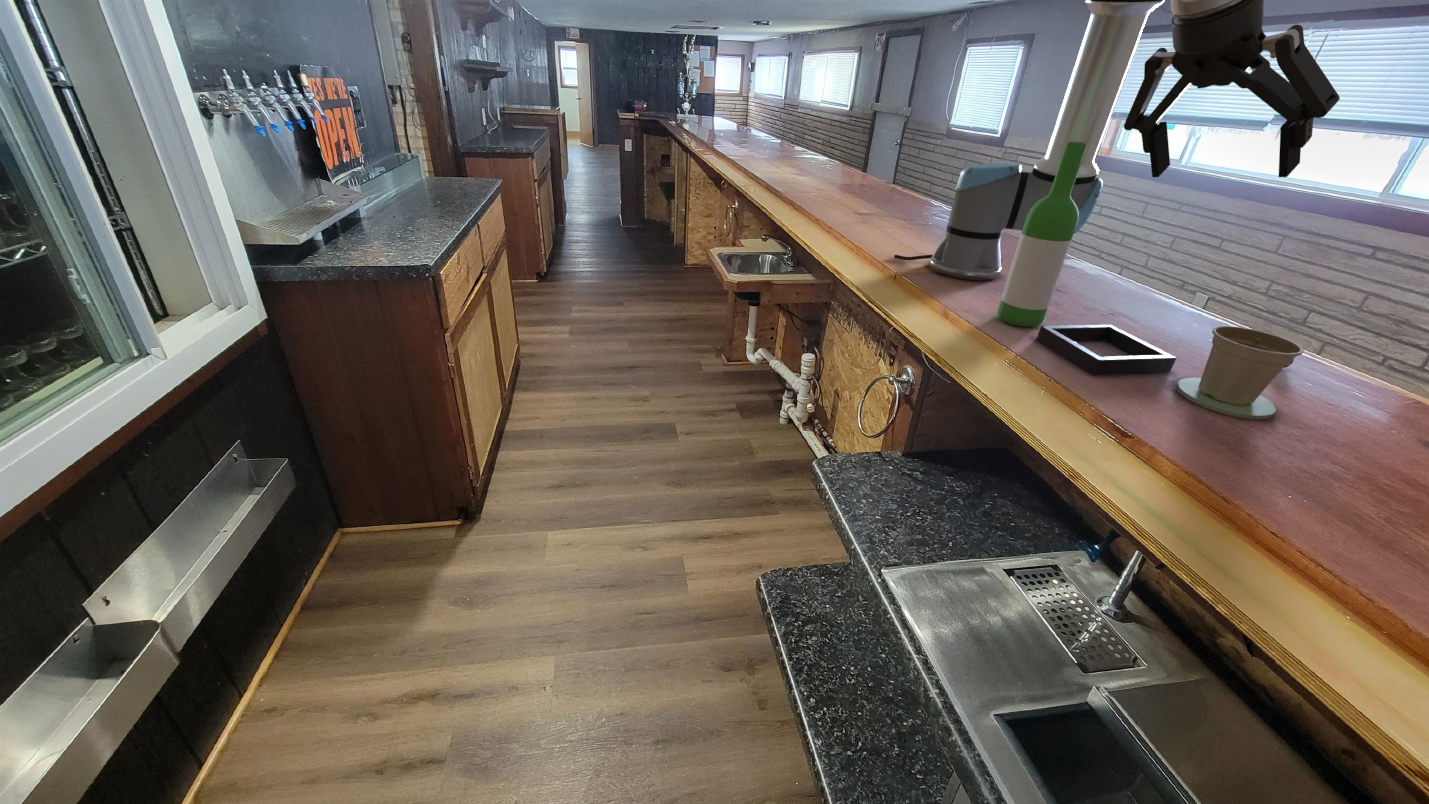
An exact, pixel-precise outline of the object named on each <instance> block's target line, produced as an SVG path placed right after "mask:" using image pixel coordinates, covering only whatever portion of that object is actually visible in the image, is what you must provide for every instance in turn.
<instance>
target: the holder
mask: <svg viewBox="0 0 1429 804" xmlns="http://www.w3.org/2000/svg"><path fill="white" fill-rule="evenodd" d="M1037 333H1038V334H1037V336H1036V339H1035V340H1036V341H1038V342H1039V343H1041V344H1043V345H1044V346H1046V347H1047V348H1049V349H1050V350H1053V351H1054V352H1055V353H1057V354H1059V355H1060V356H1062V357H1064V358H1065V359H1067V360H1068V361H1070V362H1071V363H1073V364H1075V365H1076V366H1077V367H1079V368H1081V369H1083V370H1084V371H1086V372H1088V373H1089V374H1091V375H1092V376H1106V375H1129V374H1130V375H1131V374H1159V373H1161V374H1162V373H1170V372H1171V371H1172V368H1173V366H1174V364H1175V363H1176V360H1177V357H1176V356H1174V355H1172V354H1170V353H1169V352H1166V351H1164V350H1163V349H1161V348H1158V347H1156V346H1154V345H1152V344H1150V343H1149V342H1146V341H1145V340H1142V339H1141V338H1139V337H1136V336H1134V335H1132V334H1130V333H1129V332H1126V331H1125V330H1123V329H1121V328H1118V327H1117V326H1115V325H1113V324H1071V325H1070V324H1067V325H1066V324H1065V325H1041V326H1040V328H1039V331H1038V332H1037ZM1092 341H1093V342H1097V341H1098V342H1101V341H1102V342H1103V341H1104V342H1106V343H1108V344H1110V345H1111V346H1113V347H1115V348H1118V349H1119V350H1120V351H1123V352H1125V353H1126V354H1128V355H1115V356H1111V355H1110V356H1100V355H1099V354H1097V353H1095V352H1093V351H1091V350H1089V349H1088V348H1086V347H1085V346H1083V345H1081V344H1079V343H1077V342H1092Z"/></svg>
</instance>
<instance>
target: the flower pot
mask: <svg viewBox="0 0 1429 804" xmlns="http://www.w3.org/2000/svg"><path fill="white" fill-rule="evenodd" d="M1212 334H1213V336H1212V339H1211V343H1212V345H1211V349H1210V352H1209V355H1208V358H1207V361H1206V363H1205V367H1204V368H1203V369H1204V370H1203V372H1202V376H1201V377H1200V378H1201V381H1200V383H1199V386H1198V388H1199V390H1200V391H1201V392H1202V393H1204V394H1210V395H1211V396H1213V397H1214V399H1216V400H1219V401H1222V402H1226V403H1231V404H1235V405H1245V404H1252V403H1254V401H1255V400H1256V399H1257V398H1258V396H1259V395H1261V394H1262V393H1263V392H1264V391H1265V390H1266V388H1267V387H1268V386H1269V385H1270V384H1271V383H1272V382H1273V380H1275V378H1276V377H1277V376H1278V375H1279V373H1280V372H1281V371H1282V370H1283V369H1284V368H1283V367H1284V366H1285V365H1286V364H1288V363H1290V362H1291V361H1292V360H1293V359H1294V360H1295V358H1296V357H1299V356H1301V355H1302V354H1303V353H1304V351H1305V350H1304V348H1303V346H1301V345H1299V344H1298V343H1295V342H1294V341H1291V339H1290V340H1289V339H1287V338H1285V337H1283V336H1279V335H1276V334H1272V333H1270V332H1266V331H1262V330H1258V329H1254V328H1248V327H1241V326H1235V325H1232V326H1231V325H1219V326H1215V327H1213V329H1212ZM1294 360H1293V361H1294Z"/></svg>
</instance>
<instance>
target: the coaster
mask: <svg viewBox="0 0 1429 804" xmlns="http://www.w3.org/2000/svg"><path fill="white" fill-rule="evenodd" d="M1201 378H1202V377H1184V378H1182V379H1179V381H1178V382H1177V384H1176V386H1175V387H1176V391H1177V392H1178V393H1179V394H1180V395H1181V396H1182V397H1184V399H1187V400H1189V401H1190V402H1192V403H1193V404H1196V405H1198V406H1200V407H1202V408H1206V409H1208V410H1210V411H1214V412H1217V413H1219V414H1223V415H1227V416H1230V417H1235V418H1241V419H1248V420H1267V419H1270V418H1272V417H1274V415H1275V414H1276V412H1277V408H1276V406H1275V404H1274V403H1273V402H1272V401H1271V400H1269V399H1268V398H1266V397H1265V396H1264V395H1261V394H1260V395H1259V396H1258V398H1257V399H1256V400H1255V401H1254V403H1252V404H1245V405H1235V404H1231V403H1226V402H1222V401H1219V400H1216V399H1214V397H1213V396H1211V395H1210V394H1204V393H1202V392H1201V391H1200V390H1199V388H1198V386H1199V383H1200V381H1201Z"/></svg>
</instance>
